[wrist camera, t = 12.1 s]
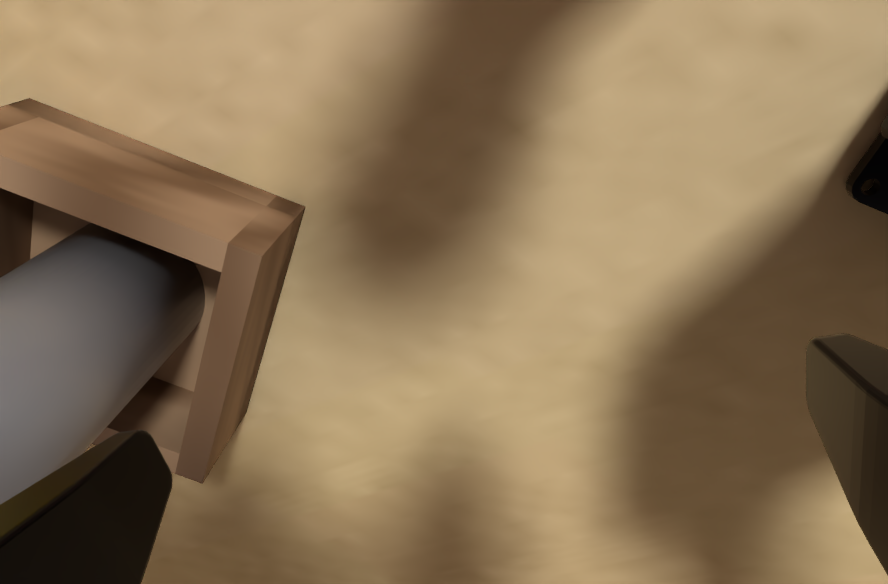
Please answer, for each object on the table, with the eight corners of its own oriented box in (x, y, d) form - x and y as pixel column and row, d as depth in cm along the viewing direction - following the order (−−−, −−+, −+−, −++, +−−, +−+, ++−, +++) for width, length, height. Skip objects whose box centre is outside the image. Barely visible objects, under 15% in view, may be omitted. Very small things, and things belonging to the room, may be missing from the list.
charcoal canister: (233, 292, 23) (-49, 614, 12) (153, 368, 25) (-155, 706, 13) (116, 187, 21) (-329, 437, 10) (40, 276, 23) (-402, 567, 12)
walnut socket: (305, 206, 22) (262, 256, 18) (246, 412, 26) (202, 483, 23) (29, 98, 21) (-70, 127, 18) (17, 327, 26) (-65, 387, 22)
